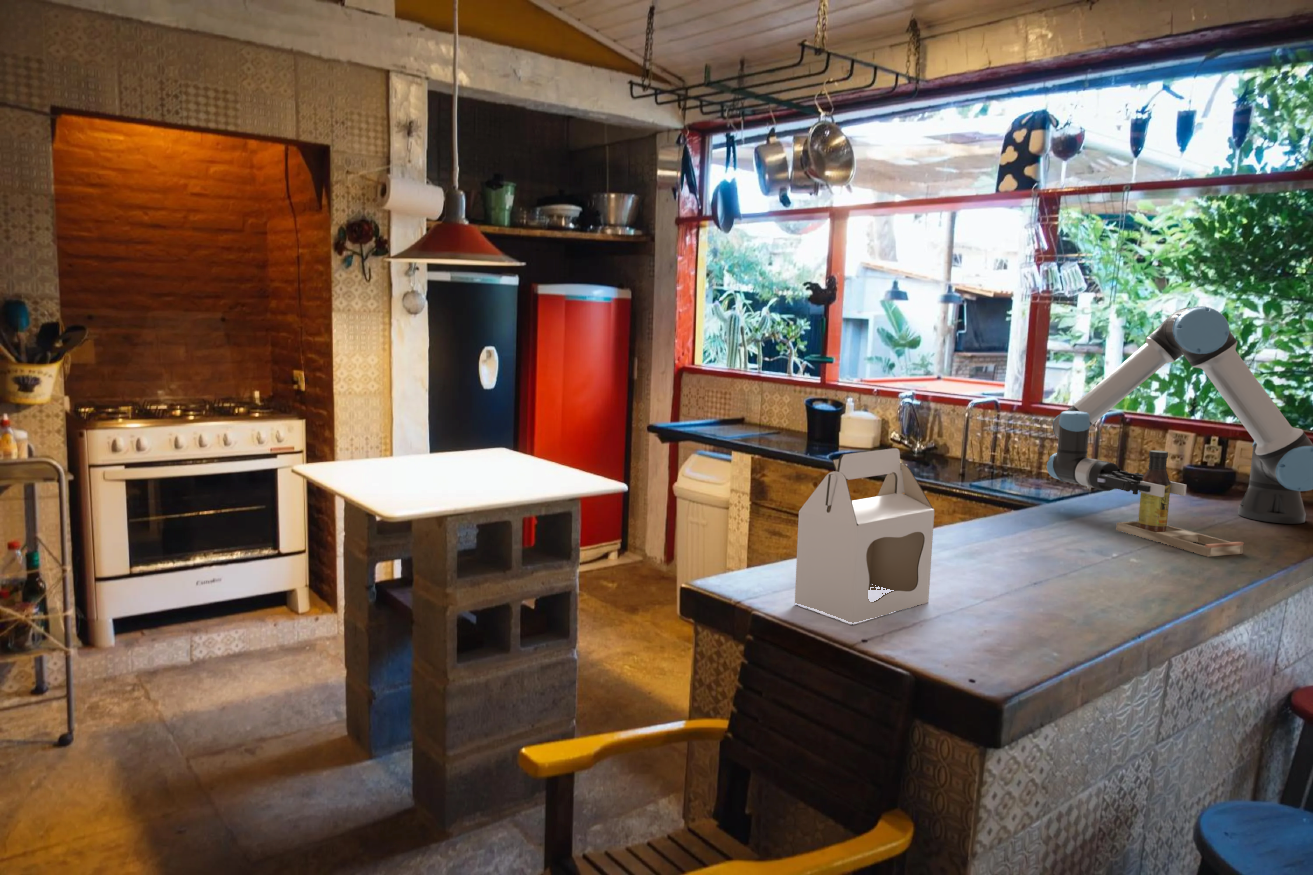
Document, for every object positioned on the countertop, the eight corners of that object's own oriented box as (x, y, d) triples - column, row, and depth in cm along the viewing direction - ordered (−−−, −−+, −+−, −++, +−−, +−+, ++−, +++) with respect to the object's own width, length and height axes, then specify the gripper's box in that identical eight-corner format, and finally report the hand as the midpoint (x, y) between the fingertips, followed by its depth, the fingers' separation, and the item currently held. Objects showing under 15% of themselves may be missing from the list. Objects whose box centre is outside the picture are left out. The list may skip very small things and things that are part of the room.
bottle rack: (1148, 527, 229) (1149, 518, 229) (1242, 553, 205) (1243, 542, 205) (1116, 530, 226) (1117, 520, 226) (1208, 556, 202) (1209, 545, 202)
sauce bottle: (1164, 535, 218) (1171, 454, 215) (1135, 531, 221) (1142, 451, 219) (1168, 530, 223) (1175, 451, 220) (1140, 526, 227) (1146, 448, 224)
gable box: (871, 585, 175) (879, 442, 171) (929, 602, 165) (939, 451, 161) (792, 605, 161) (799, 451, 157) (851, 626, 151) (860, 461, 147)
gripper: (1125, 486, 241) (1202, 504, 220) (1068, 490, 235) (1142, 508, 213) (1127, 459, 240) (1205, 473, 219) (1070, 461, 234) (1145, 477, 212)
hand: (1174, 490), depth 216 cm, fingers closed on sauce bottle, 6 cm apart
